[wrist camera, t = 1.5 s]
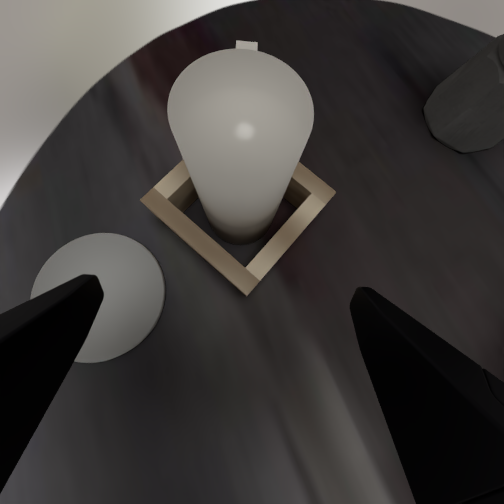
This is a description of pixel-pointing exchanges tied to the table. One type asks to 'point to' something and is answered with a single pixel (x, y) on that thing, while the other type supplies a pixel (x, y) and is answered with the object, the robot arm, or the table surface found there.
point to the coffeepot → (470, 102)
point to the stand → (244, 279)
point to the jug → (240, 135)
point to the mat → (111, 290)
